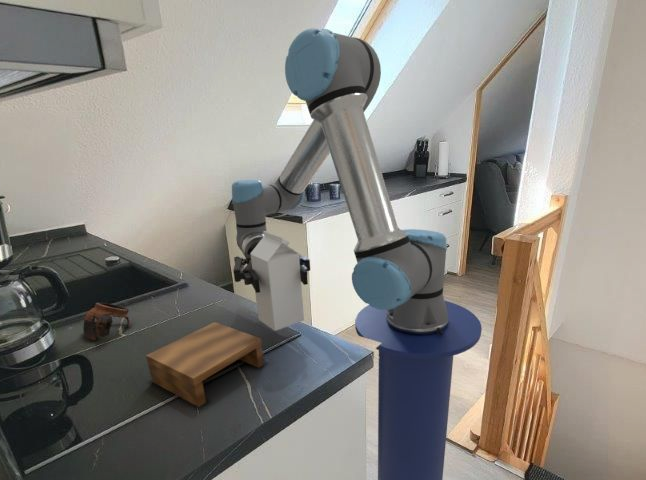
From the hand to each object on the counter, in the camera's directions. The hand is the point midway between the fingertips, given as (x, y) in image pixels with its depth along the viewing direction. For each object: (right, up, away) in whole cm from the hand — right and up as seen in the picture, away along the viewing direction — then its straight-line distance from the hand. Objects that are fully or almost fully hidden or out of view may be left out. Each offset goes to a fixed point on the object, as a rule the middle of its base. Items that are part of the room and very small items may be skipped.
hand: (282, 282), depth 78 cm
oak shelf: (-15, -18, +2) cm, 23 cm away
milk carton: (-2, -8, +8) cm, 12 cm away
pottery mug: (-45, -12, +19) cm, 50 cm away
